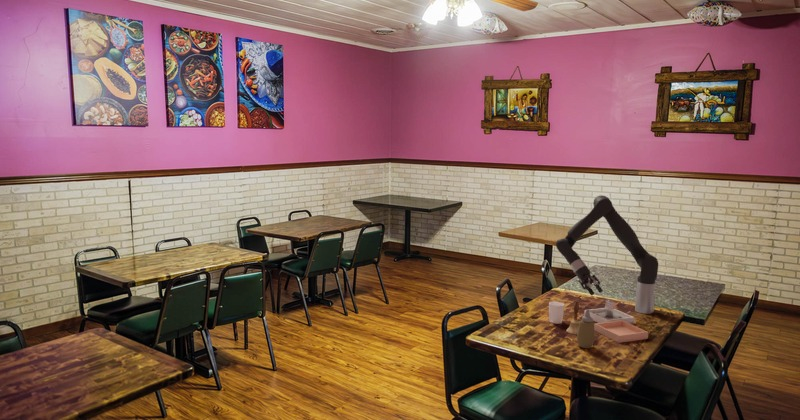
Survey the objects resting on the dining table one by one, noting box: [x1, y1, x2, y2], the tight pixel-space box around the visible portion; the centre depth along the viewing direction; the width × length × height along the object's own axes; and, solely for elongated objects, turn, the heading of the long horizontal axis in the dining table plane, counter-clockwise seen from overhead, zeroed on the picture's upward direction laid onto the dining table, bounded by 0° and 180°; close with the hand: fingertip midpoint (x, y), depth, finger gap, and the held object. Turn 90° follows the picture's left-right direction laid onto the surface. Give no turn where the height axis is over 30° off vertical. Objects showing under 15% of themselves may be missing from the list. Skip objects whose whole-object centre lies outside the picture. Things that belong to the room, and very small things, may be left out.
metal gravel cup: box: [604, 298, 615, 318], centre depth 305 cm, size 4×4×9 cm
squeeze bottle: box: [576, 309, 596, 349], centre depth 265 cm, size 8×8×18 cm
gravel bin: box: [583, 307, 635, 325], centre depth 305 cm, size 18×18×4 cm
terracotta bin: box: [594, 320, 649, 344], centre depth 283 cm, size 18×18×4 cm
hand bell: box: [566, 300, 580, 335], centre depth 285 cm, size 8×8×16 cm
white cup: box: [548, 300, 565, 325], centre depth 300 cm, size 8×8×10 cm
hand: (597, 293), depth 310 cm, fingers open, 8 cm apart
